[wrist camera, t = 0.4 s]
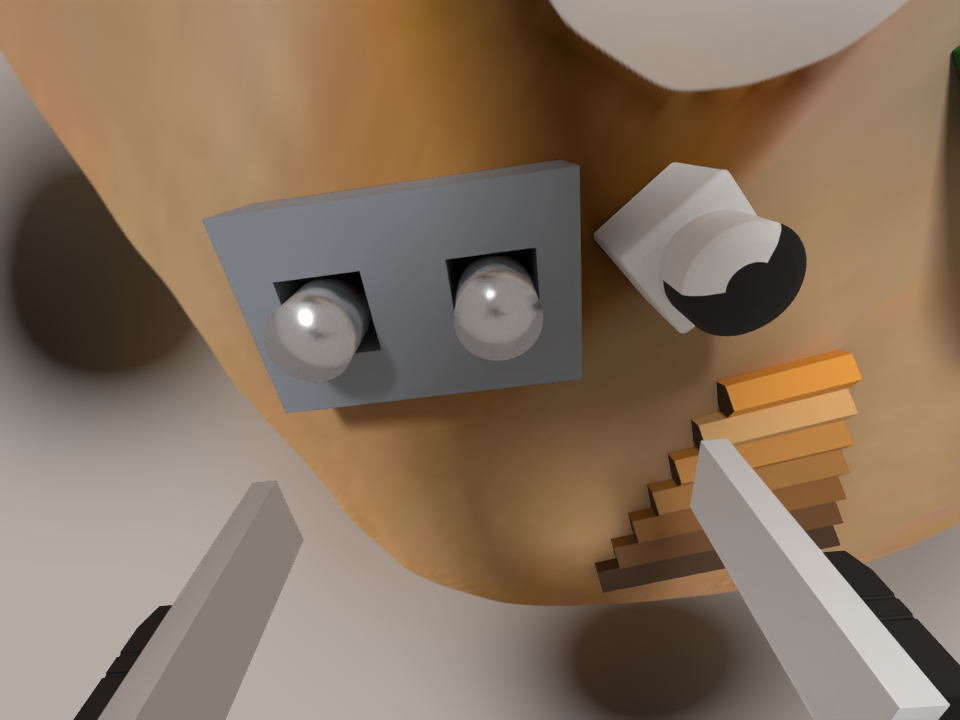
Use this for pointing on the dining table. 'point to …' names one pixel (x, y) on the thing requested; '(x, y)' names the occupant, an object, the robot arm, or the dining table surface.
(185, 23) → the dining table surface
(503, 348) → the steel peg
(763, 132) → the dining table surface
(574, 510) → the dining table surface
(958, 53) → the milk carton
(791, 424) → the pan flute
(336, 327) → the steel peg
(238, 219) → the peg block
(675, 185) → the medicine bottle
